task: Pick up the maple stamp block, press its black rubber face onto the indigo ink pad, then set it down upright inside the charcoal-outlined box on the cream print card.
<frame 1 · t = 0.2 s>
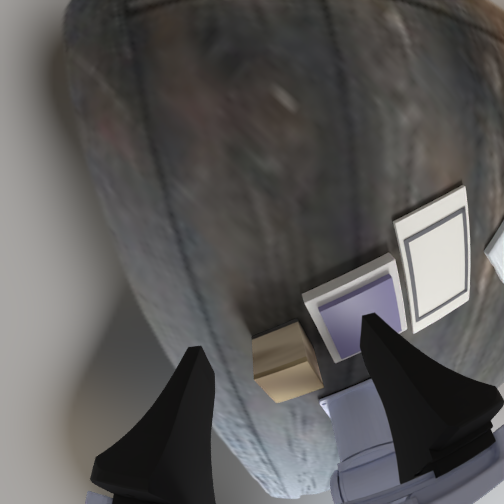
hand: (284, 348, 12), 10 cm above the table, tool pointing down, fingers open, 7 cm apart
stamp: (283, 341, 25), on the table
ink pad: (359, 310, 23), on the table
print card: (439, 267, 22), on the table
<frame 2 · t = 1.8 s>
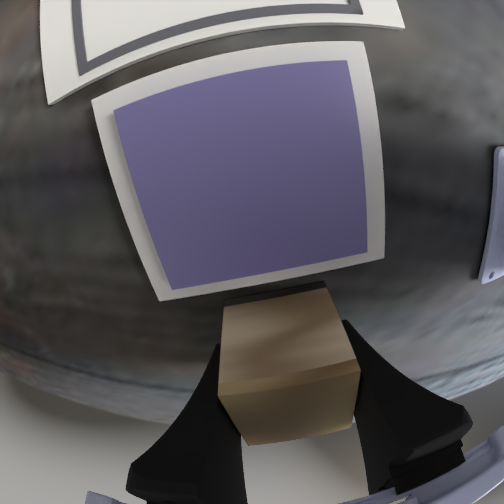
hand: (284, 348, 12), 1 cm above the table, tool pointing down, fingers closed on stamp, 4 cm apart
stamp: (281, 327, 13), on the table, touching gripper
ink pad: (249, 168, 9), on the table
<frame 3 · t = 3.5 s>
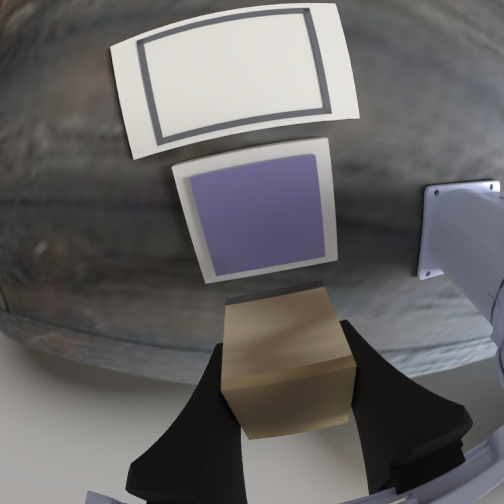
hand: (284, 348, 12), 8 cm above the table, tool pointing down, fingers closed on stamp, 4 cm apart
stamp: (280, 325, 13), point 7 cm above the table, touching gripper
ink pad: (260, 209, 17), on the table
print card: (232, 69, 13), on the table
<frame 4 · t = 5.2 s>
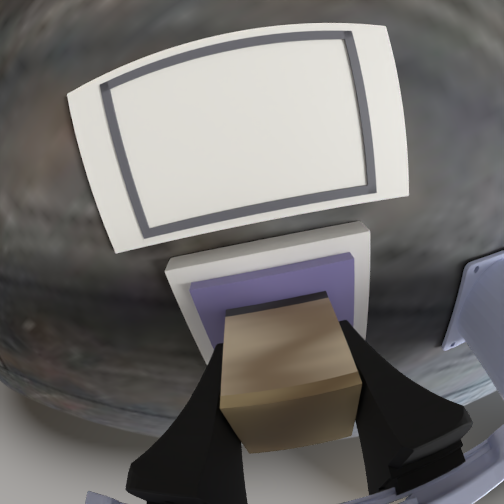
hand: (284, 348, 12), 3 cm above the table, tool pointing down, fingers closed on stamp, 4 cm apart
stamp: (282, 336, 13), point 2 cm above the table, touching gripper, ink pad
ink pad: (278, 307, 14), on the table
print card: (241, 126, 10), on the table
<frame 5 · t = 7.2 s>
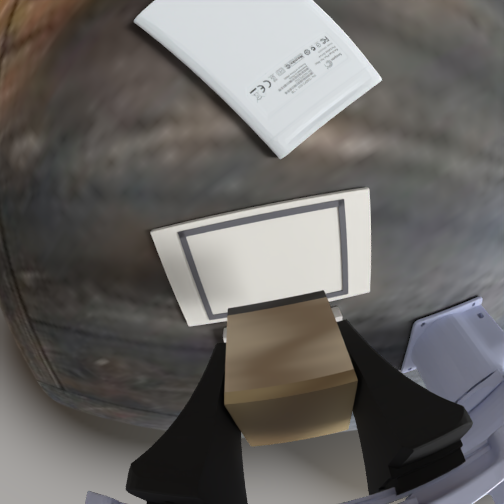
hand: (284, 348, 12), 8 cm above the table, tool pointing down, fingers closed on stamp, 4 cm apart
stamp: (282, 333, 13), point 6 cm above the table, touching gripper
external hard drive: (258, 42, 13), on the table
print card: (270, 262, 18), on the table
when the fingers open (3 cm above the table, at t = 8.7 s): stamp stays where it is, resting on print card.
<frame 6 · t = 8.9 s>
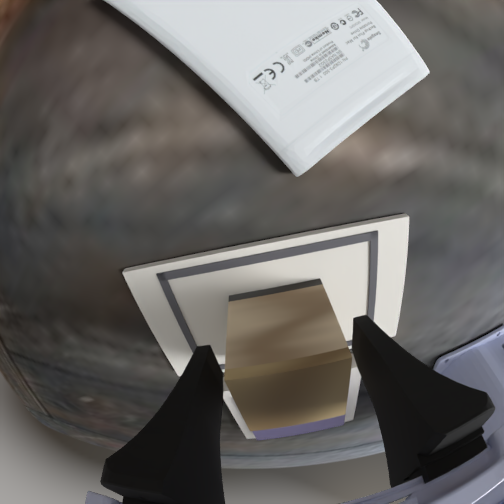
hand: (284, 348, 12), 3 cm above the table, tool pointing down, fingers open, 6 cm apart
stamp: (280, 321, 14), resting on print card
external hard drive: (263, 13, 8), on the table
ink pad: (294, 398, 18), on the table
print card: (278, 309, 14), on the table
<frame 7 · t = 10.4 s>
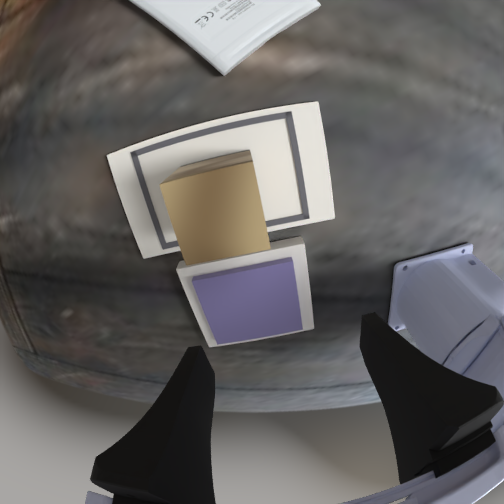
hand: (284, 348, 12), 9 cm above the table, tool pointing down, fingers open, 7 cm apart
stamp: (222, 190, 17), resting on print card
ink pad: (250, 293, 22), on the table
print card: (221, 181, 17), on the table
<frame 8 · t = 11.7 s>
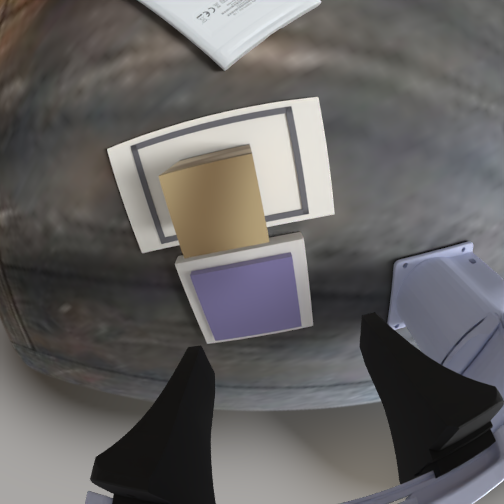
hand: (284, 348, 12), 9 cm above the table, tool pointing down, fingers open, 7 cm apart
stamp: (222, 184, 17), resting on print card
ink pad: (249, 289, 21), on the table
print card: (220, 175, 17), on the table
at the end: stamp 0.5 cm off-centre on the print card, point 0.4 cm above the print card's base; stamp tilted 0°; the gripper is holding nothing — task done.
